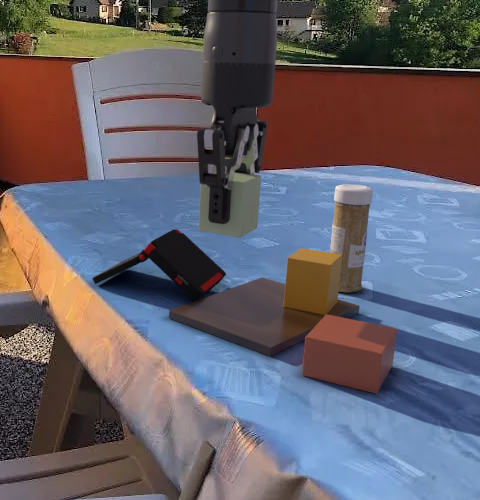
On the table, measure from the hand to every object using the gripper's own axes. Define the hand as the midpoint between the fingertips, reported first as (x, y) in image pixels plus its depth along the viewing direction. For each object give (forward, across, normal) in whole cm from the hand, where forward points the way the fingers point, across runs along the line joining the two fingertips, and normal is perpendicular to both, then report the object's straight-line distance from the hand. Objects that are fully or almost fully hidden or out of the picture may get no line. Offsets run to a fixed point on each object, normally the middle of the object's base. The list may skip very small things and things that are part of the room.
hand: (229, 217), depth 78 cm
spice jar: (+12, +18, -9) cm, 24 cm away
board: (+12, +3, -4) cm, 13 cm away
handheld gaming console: (+7, +6, +9) cm, 12 cm away
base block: (+12, -6, -16) cm, 21 cm away
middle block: (+1, 0, 0) cm, 1 cm away
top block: (+11, +7, -8) cm, 15 cm away
